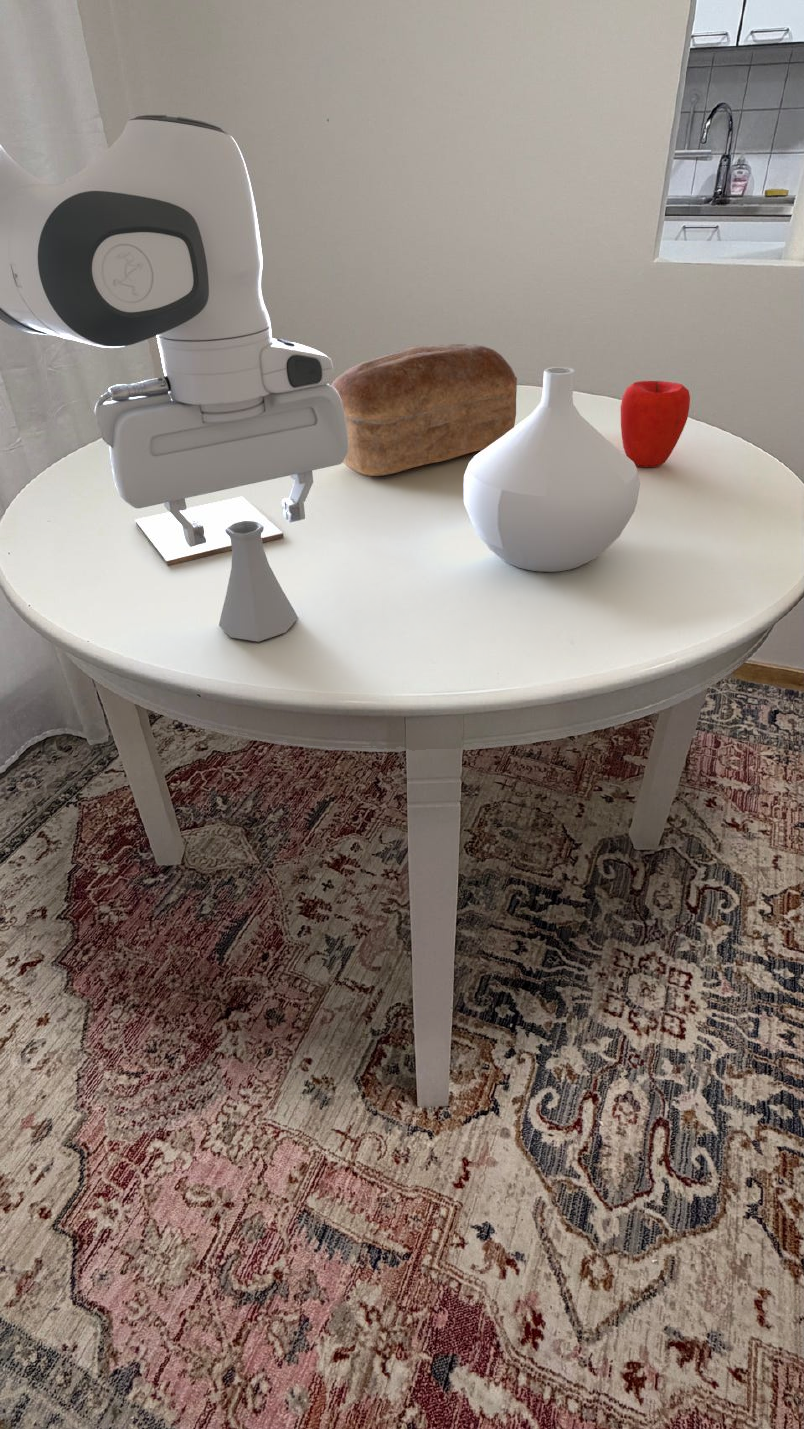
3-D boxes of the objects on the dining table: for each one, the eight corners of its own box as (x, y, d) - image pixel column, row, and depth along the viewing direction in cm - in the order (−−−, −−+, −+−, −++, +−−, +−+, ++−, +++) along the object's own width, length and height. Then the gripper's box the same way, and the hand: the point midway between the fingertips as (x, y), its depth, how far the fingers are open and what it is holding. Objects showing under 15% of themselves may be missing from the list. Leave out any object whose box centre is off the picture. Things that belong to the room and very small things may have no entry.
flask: (258, 651, 73) (242, 550, 68) (206, 629, 77) (186, 531, 71) (311, 619, 78) (301, 522, 72) (259, 599, 82) (245, 506, 76)
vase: (662, 574, 84) (696, 382, 72) (501, 603, 79) (511, 405, 68) (579, 511, 98) (597, 343, 87) (438, 534, 94) (438, 360, 82)
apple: (673, 452, 114) (687, 372, 108) (684, 473, 107) (700, 389, 101) (610, 452, 115) (620, 373, 109) (617, 473, 108) (628, 390, 102)
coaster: (167, 565, 89) (166, 560, 89) (136, 524, 99) (135, 519, 99) (284, 537, 94) (283, 533, 94) (243, 501, 104) (242, 496, 104)
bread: (322, 465, 115) (313, 358, 106) (476, 428, 127) (478, 329, 118) (366, 488, 106) (360, 375, 98) (526, 446, 119) (532, 342, 110)
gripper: (97, 399, 58) (141, 572, 66) (350, 357, 65) (361, 517, 74) (79, 381, 62) (123, 545, 70) (318, 344, 70) (332, 496, 78)
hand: (246, 531), depth 72 cm, fingers open, 8 cm apart
